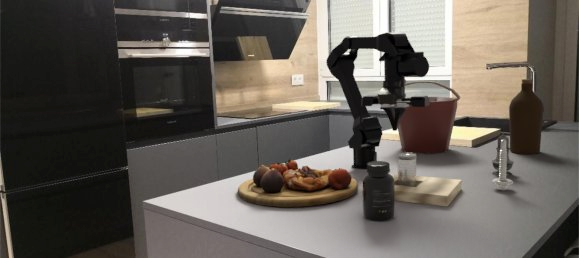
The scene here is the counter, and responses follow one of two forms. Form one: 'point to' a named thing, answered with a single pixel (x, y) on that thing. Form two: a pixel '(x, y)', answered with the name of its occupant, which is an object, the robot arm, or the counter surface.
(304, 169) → the wooden plate with food
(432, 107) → the bucket
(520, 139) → the olive oil
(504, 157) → the screw
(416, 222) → the counter surface
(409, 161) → the grey cylindrical piece
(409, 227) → the counter surface
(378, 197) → the supplement bottle
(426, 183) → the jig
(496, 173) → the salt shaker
